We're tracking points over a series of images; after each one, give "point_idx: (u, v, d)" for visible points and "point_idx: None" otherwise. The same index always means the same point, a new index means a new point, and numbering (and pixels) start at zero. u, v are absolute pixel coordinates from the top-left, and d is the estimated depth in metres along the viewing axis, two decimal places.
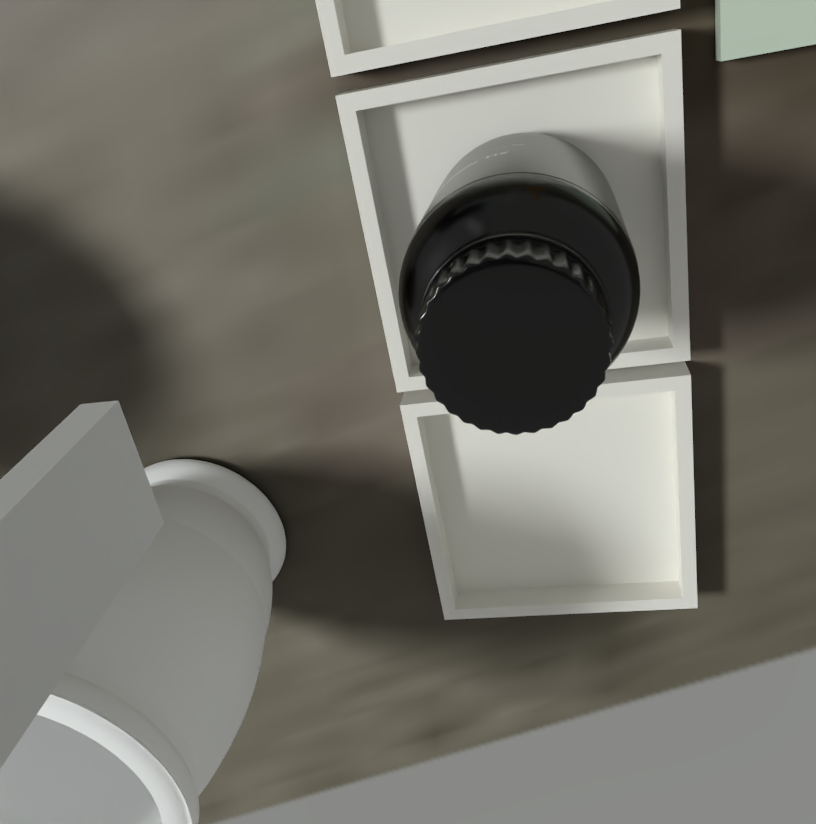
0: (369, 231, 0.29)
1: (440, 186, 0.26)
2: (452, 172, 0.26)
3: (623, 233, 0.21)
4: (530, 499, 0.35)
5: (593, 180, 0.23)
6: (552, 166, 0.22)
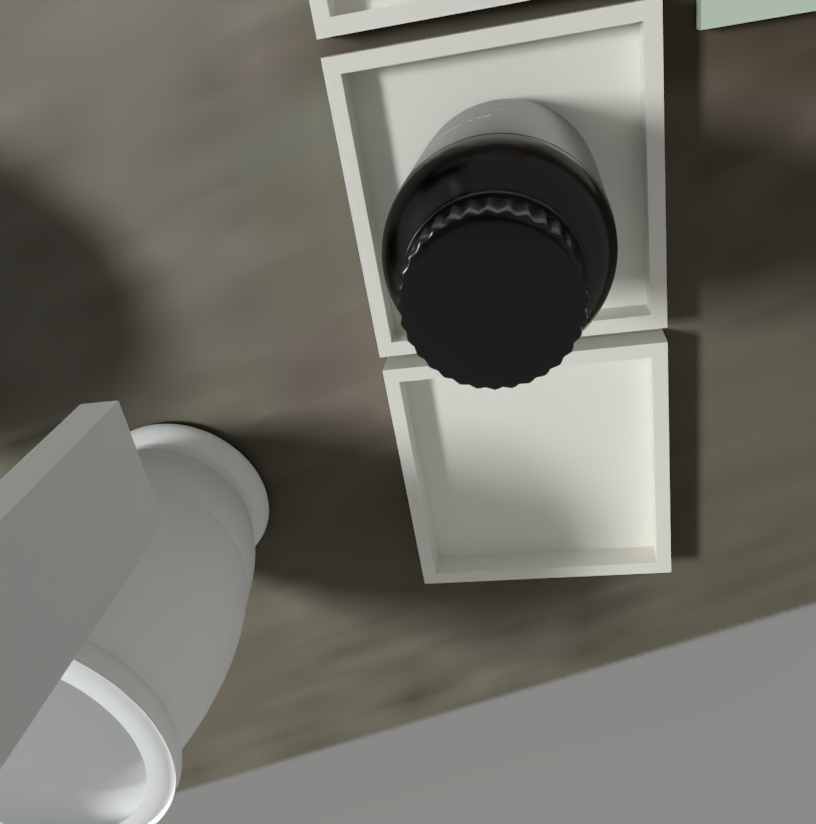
0: (353, 195, 0.29)
1: (424, 150, 0.27)
2: (436, 136, 0.26)
3: (602, 194, 0.21)
4: (510, 465, 0.35)
5: (574, 144, 0.23)
6: (533, 128, 0.22)
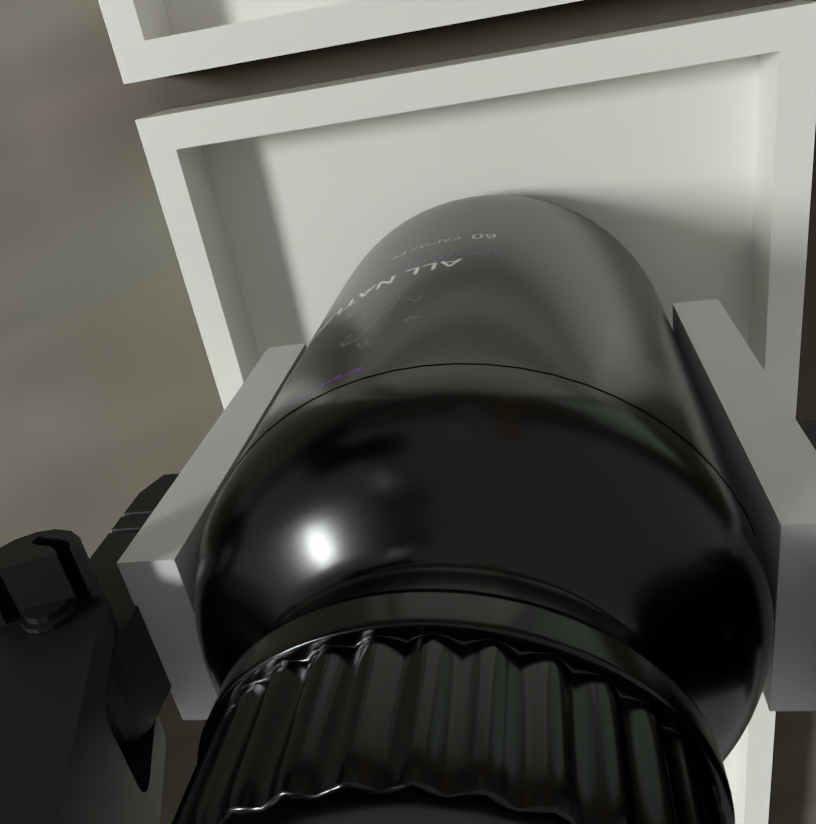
0: (219, 361, 0.16)
1: (333, 304, 0.13)
2: (354, 281, 0.13)
3: (744, 529, 0.08)
4: None
5: (648, 338, 0.10)
6: (559, 324, 0.09)
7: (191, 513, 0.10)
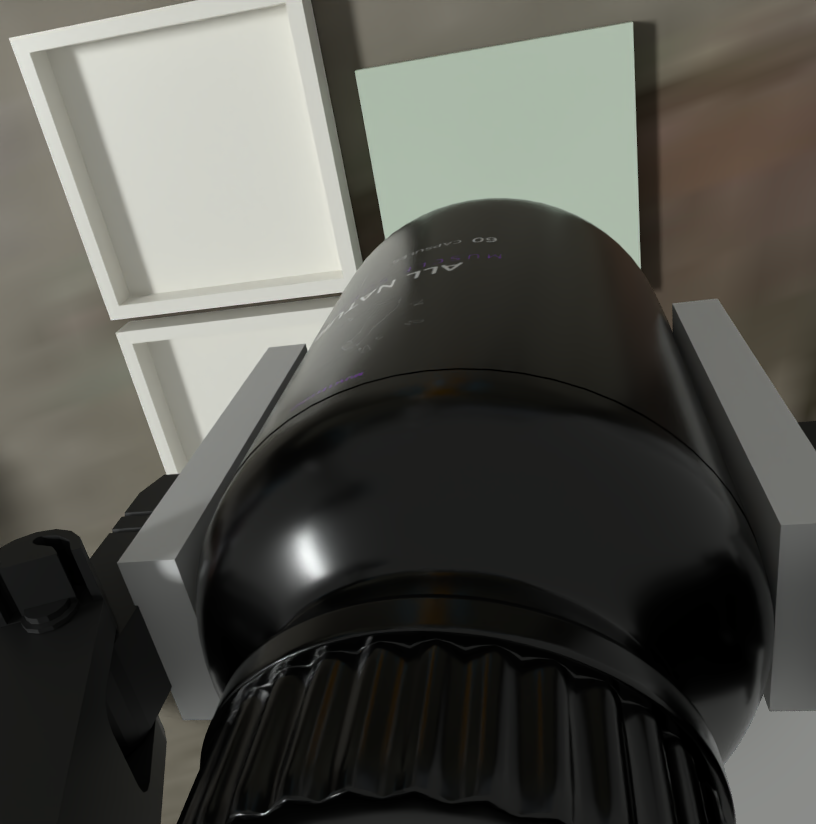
0: (153, 425, 0.37)
1: None
2: (355, 284, 0.13)
3: (745, 533, 0.08)
4: None
5: (648, 342, 0.10)
6: (560, 329, 0.09)
7: (191, 513, 0.10)
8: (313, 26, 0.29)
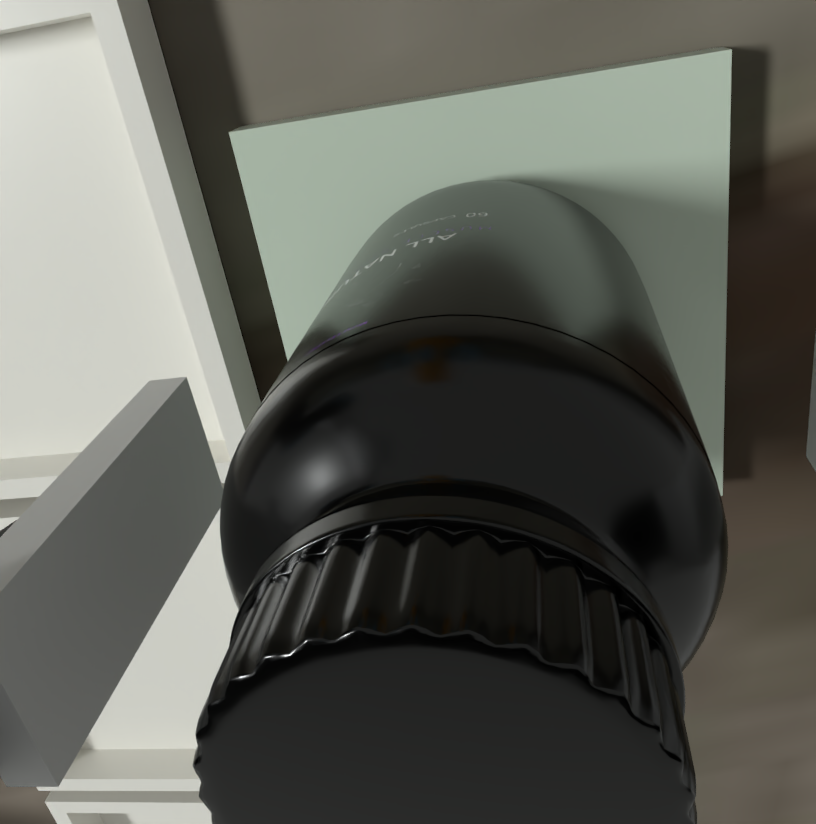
0: None
1: None
2: (359, 257, 0.14)
3: (699, 456, 0.09)
4: None
5: (622, 301, 0.11)
6: (540, 285, 0.10)
7: (6, 572, 0.10)
8: (154, 54, 0.16)
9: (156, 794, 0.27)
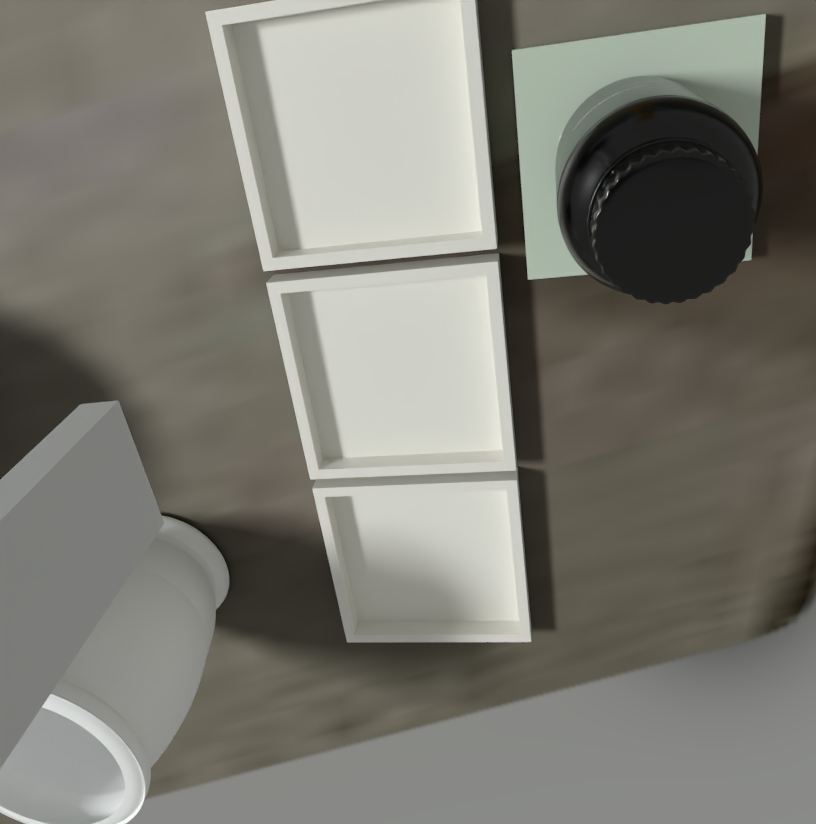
0: (290, 370, 0.40)
1: (577, 116, 0.31)
2: (589, 104, 0.31)
3: (753, 148, 0.25)
4: (410, 556, 0.46)
5: None
6: (692, 94, 0.27)
7: None
8: (477, 10, 0.33)
9: (385, 482, 0.43)
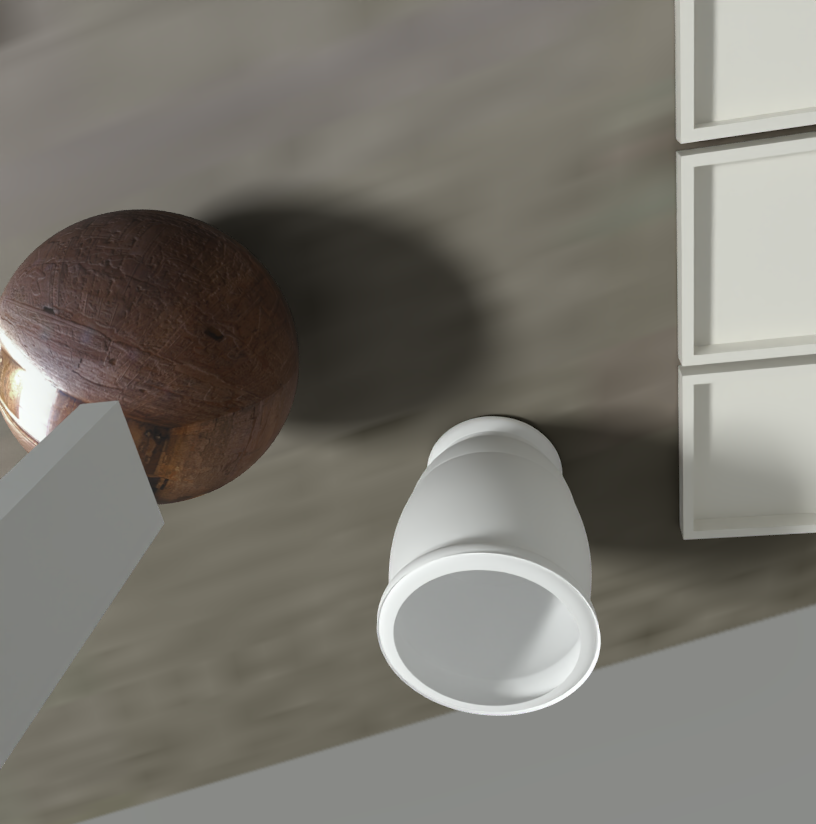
0: (686, 250, 0.40)
1: None
2: None
3: None
4: (761, 447, 0.46)
5: None
6: None
7: None
8: None
9: (759, 366, 0.43)
